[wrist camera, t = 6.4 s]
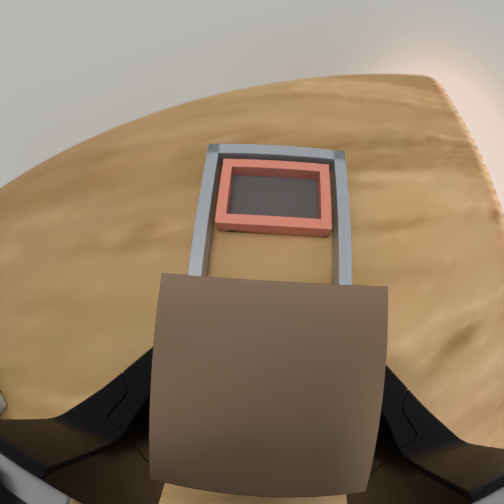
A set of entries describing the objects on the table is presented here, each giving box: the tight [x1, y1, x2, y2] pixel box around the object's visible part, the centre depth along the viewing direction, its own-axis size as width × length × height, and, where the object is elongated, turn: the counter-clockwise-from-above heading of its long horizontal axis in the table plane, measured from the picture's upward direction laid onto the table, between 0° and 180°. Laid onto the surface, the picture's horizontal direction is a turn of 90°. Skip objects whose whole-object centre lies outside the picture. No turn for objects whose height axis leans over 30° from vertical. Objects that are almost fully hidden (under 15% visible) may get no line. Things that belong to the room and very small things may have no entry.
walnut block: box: [149, 273, 388, 497], centre depth 10 cm, size 4×4×11 cm
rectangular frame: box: [215, 159, 332, 237], centre depth 24 cm, size 6×9×2 cm, turn 86°
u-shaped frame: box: [188, 144, 352, 285], centre depth 22 cm, size 18×12×2 cm, turn 176°
